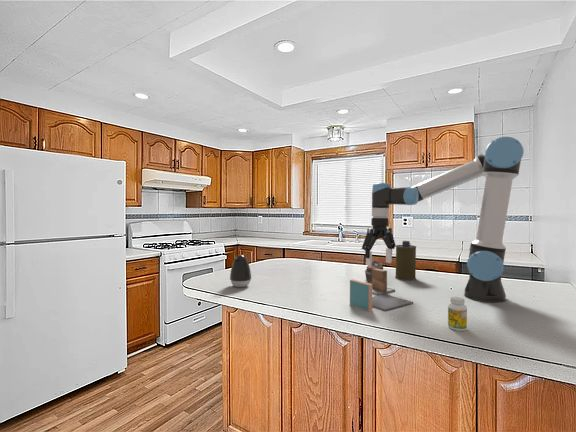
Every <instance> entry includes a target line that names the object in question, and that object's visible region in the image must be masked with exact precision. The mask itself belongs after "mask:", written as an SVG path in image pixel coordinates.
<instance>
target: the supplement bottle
mask: <svg viewBox="0 0 576 432" xmlns="http://www.w3.org/2000/svg"><path fill="white" fill-rule="evenodd" d="M465 301H466V300H465V298H463V297H459V296H451V297H450V300H449V302H450V303H448V306H447V327H448V328H449V329H451V330H453V331H458V332H463V331H466V330H467V327H468V325H467V324H468V323H467V322H468V308H467V306H466V305H465Z"/></svg>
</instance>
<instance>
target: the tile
mask: <svg viewBox="0 0 576 432" xmlns="http://www.w3.org/2000/svg"><path fill="white" fill-rule="evenodd" d="M372 297H373V294H372V283H370V282H369V283H368V282H365V281H362V280H361V281H360V280H356V279H353V278H352V279H349V306H352V307H354V308H358V309H360V310H363V311H366V312H372V311H373V307H372Z"/></svg>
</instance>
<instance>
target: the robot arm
mask: <svg viewBox="0 0 576 432" xmlns="http://www.w3.org/2000/svg"><path fill="white" fill-rule="evenodd" d="M524 151H525V150H524V147H523V145H522V143H521V142H520V140H518V139H516V138H514V137H511V136H499V137H497V138H495V139H492V141H491V142H489V143H488V145H486V148H485V150H484V152H482V153H481V154H477V156H475V158H474V159H473V160H471V161H469V162H466V163H464V164H462V165H460V166H456V167H455V168H453V169H449V170H448V171H446V172H445V171H444V172H443V173H441V174H438V175H436V176H434V177H432V178H429V179H427V180H424V181H423V182H420V183H418V184H415V185H413V186H407V187H404V186H403V187H392V186H391V185H390V183H388V182H375V183H374V184H373V185H372V191H371V221H370V223H371V226H372V228H370V227H369V228H367V231H366V234H365V235H366V236H364V237H365V238H364V240H363V243H362V246H361V250H363V251H364V253H365V254H364V255H365V257H364V258H365V266H372V262H373V261H372V260H373V255H372V253H373V251H372V249H373V247H374V245H375V243H376V241H377V240H378V239H382V240H383V242H384V244H385V246H386V248H385V263H388V264H392V263H393V262H392V258H393V257H392V256H393V250H394V249H396V242H395V238H394V235H393V232H392V231H393V230H392V227H389V224H390V223H389V222H390V221H389V220H390V218H388V217H390V205H400V206H403V205H404V206H413V205H414V206H415V205H417V204H418V203H419V202H421V201H424V200H426V199H429V198H431V197H433V196H436V195H438V194H441V193H443V192H445V191H446V192H447V191H448V190H451V189H454V188H456V187H458V186H461V185H463V184H466V183H468V182H470V181H473V180H475V179H478V178H480V177H484V178H485V184H484V189H483V195H482V201H481V208H480V213H479V218H478V219H479V220H478V225H477V232H476V238H475V239H474V240H472V241H471V242H470V245H469V249H468V250H469V255H468V258H467V260H466V267H467V270H468V272H469V273H468V274H469V275H468V276H469V278H468V280H467V283H466V285H465V288H464V292H463V293H464V294H463V295H464V296H465V297H466V298H468V299H471V300H474V301H479V302H483V303H484V302H486V303H503V302H506V299H507V295H506V294H507V293H506V291H505V288H504V285H503V282H502V274H503V273H504V270H505V265H504V262H505V255H506V249H507V247H506V246H505V245H504V244H503V239H504V234H505V232H504V231H505V227H506V221H507V216H508V209H509V203H510V197H511V191H512V186H513V180H514V179H516V178H517V177H518V176H519V175H520V173H519V172H520V167H521V162H522V158H523V156H524Z"/></svg>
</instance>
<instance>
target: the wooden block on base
mask: <svg viewBox="0 0 576 432" xmlns="http://www.w3.org/2000/svg"><path fill="white" fill-rule="evenodd" d="M371 284H372V295H375V296H379V295H383V294H386V295H387V294H390V293H394V292H396V289H395V288H390V287H388V270H386V269H383V270H382V269H377V268H376V269H372V282H371Z"/></svg>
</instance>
